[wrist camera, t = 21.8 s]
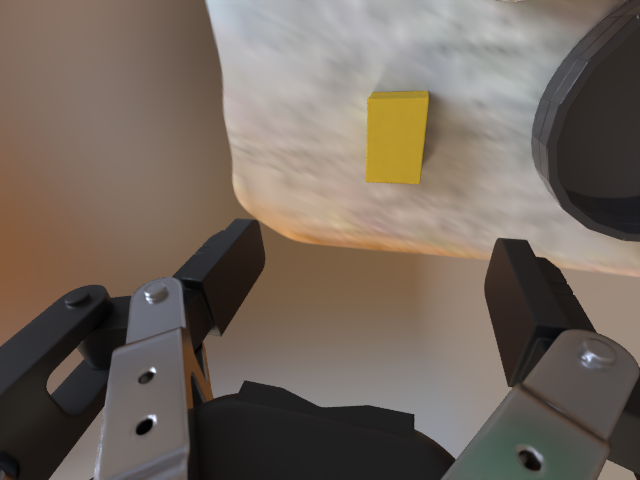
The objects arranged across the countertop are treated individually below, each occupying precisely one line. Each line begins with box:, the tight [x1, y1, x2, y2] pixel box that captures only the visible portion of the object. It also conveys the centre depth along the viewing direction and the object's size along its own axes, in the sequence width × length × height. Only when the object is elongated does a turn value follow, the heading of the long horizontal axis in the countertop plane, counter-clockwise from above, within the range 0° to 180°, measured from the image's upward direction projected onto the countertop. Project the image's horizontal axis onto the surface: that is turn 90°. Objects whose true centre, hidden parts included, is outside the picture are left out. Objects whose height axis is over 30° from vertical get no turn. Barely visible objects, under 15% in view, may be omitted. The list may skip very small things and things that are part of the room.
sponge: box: [366, 91, 429, 184], centre depth 24 cm, size 6×4×3 cm, turn 3°
